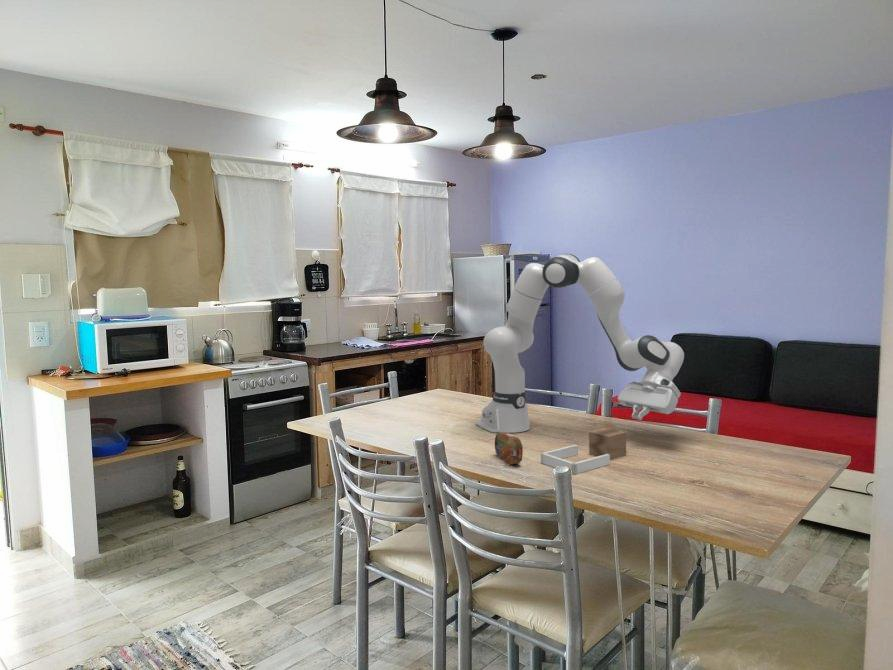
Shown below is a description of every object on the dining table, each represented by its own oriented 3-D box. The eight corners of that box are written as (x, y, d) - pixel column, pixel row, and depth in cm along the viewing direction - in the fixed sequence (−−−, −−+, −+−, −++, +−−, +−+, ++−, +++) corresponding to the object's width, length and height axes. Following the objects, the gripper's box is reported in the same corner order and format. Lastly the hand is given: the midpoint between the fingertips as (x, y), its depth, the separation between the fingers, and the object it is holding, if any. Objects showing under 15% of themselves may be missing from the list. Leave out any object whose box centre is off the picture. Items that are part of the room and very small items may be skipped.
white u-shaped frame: (540, 462, 184) (540, 453, 183) (575, 453, 192) (575, 444, 192) (574, 474, 172) (574, 464, 172) (609, 464, 180) (609, 454, 180)
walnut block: (589, 454, 191) (589, 431, 190) (606, 450, 195) (606, 427, 195) (608, 460, 184) (608, 436, 184) (626, 455, 189) (626, 432, 188)
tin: (493, 455, 193) (493, 429, 193) (502, 453, 194) (502, 428, 194) (515, 468, 179) (514, 440, 178) (524, 466, 180) (524, 439, 180)
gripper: (625, 375, 208) (606, 407, 204) (677, 383, 191) (657, 417, 187) (633, 386, 211) (615, 418, 207) (685, 395, 194) (666, 429, 190)
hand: (635, 418), depth 197 cm, fingers closed
